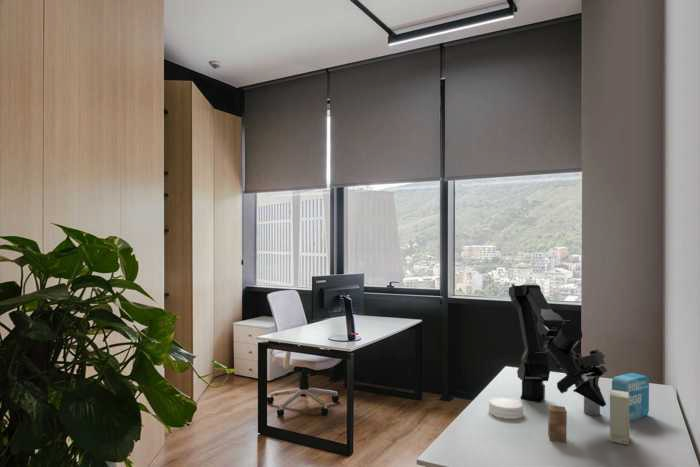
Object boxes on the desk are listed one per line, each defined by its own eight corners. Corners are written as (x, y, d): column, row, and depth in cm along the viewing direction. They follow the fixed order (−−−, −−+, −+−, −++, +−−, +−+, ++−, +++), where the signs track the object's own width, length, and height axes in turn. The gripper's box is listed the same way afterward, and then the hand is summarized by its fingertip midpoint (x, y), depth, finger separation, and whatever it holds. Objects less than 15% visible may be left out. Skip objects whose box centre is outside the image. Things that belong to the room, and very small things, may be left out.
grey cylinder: (583, 413, 142) (583, 387, 142) (584, 409, 146) (584, 383, 146) (599, 417, 140) (599, 390, 140) (600, 412, 143) (600, 386, 143)
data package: (626, 422, 136) (626, 381, 136) (611, 417, 140) (611, 377, 140) (649, 415, 142) (649, 375, 142) (634, 410, 146) (634, 371, 146)
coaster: (515, 407, 147) (515, 396, 147) (529, 420, 137) (529, 408, 137) (484, 408, 146) (484, 396, 146) (495, 420, 136) (496, 408, 136)
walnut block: (549, 440, 122) (550, 410, 123) (548, 434, 126) (548, 405, 126) (566, 442, 121) (566, 412, 121) (564, 436, 125) (564, 406, 125)
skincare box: (628, 445, 120) (629, 398, 120) (609, 441, 122) (609, 395, 123) (629, 437, 125) (629, 391, 126) (610, 433, 128) (610, 388, 128)
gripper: (568, 344, 126) (610, 397, 117) (600, 336, 137) (641, 384, 128) (540, 367, 132) (579, 419, 123) (573, 358, 143) (611, 404, 134)
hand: (604, 405), depth 127 cm, fingers closed
